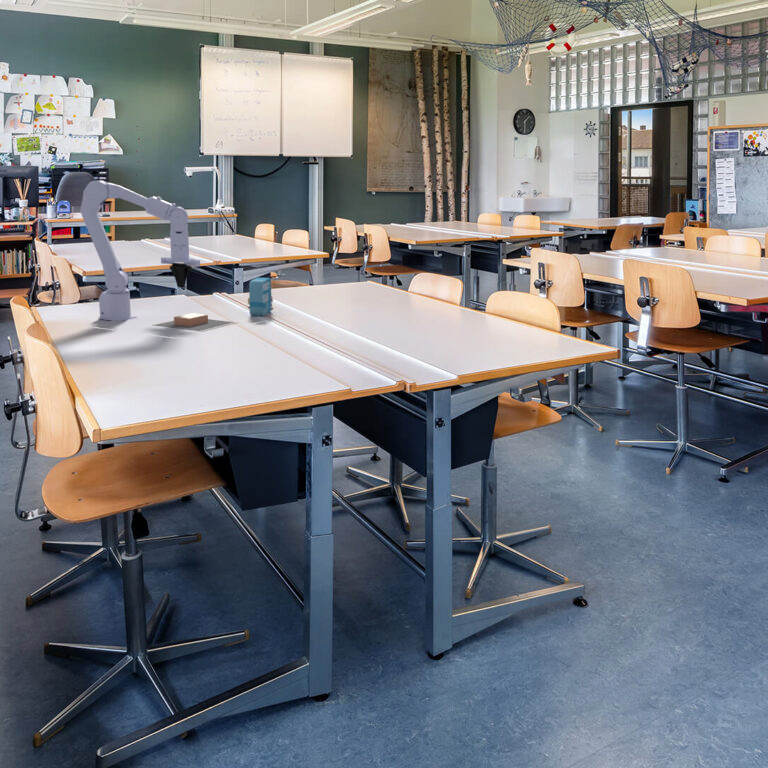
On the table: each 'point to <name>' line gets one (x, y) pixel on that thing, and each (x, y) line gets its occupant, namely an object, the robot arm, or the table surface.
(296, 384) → the table surface
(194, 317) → the card box
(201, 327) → the mat
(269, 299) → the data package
